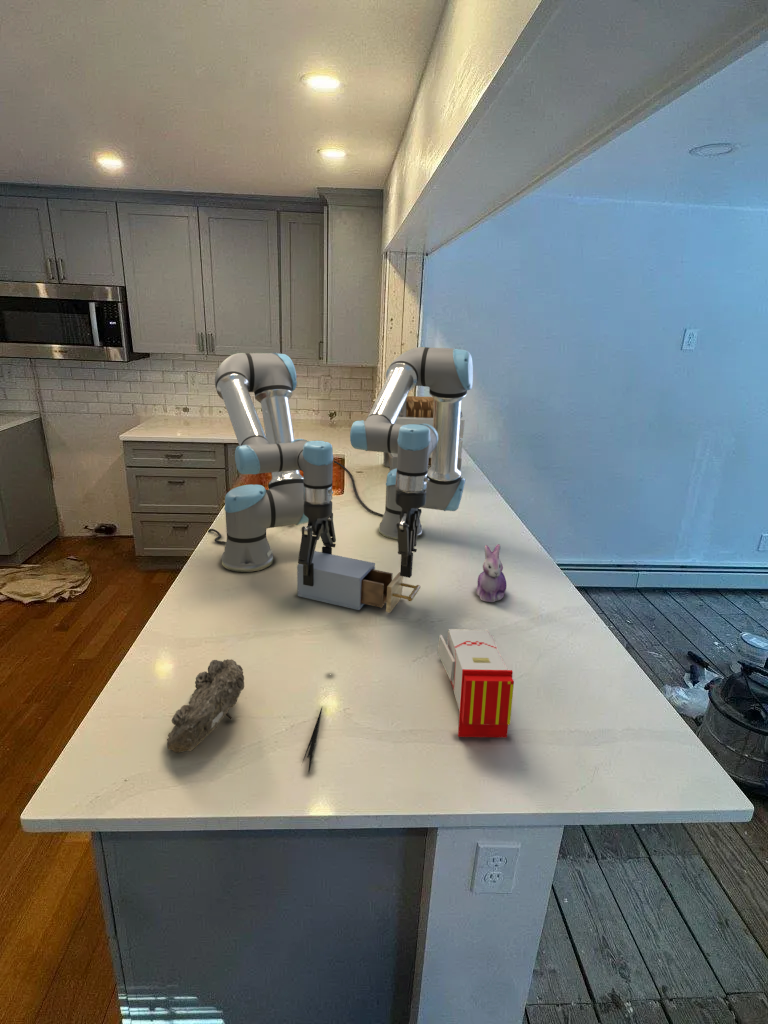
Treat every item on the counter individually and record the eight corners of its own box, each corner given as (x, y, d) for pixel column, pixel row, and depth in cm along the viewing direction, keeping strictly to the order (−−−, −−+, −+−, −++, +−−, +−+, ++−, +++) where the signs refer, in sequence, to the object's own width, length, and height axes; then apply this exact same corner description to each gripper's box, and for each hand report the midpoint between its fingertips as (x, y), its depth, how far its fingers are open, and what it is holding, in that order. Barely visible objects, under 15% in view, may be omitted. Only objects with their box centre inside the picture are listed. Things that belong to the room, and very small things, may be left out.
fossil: (192, 660, 117) (244, 628, 112) (224, 691, 120) (276, 661, 115) (142, 746, 98) (202, 712, 93) (182, 779, 101) (242, 748, 96)
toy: (488, 613, 130) (523, 677, 101) (484, 667, 133) (517, 744, 104) (435, 612, 130) (455, 676, 101) (432, 666, 133) (451, 743, 103)
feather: (331, 679, 122) (336, 673, 122) (307, 777, 96) (313, 769, 95) (324, 675, 122) (329, 669, 121) (298, 772, 95) (304, 764, 95)
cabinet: (373, 593, 158) (375, 562, 154) (359, 610, 148) (360, 578, 145) (315, 580, 163) (315, 550, 160) (297, 596, 154) (297, 565, 151)
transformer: (382, 463, 289) (386, 382, 275) (445, 464, 293) (451, 384, 279) (390, 482, 257) (394, 392, 243) (460, 483, 261) (468, 394, 247)
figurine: (488, 606, 153) (494, 555, 148) (466, 590, 161) (471, 541, 156) (515, 600, 157) (522, 550, 152) (493, 584, 166) (498, 536, 160)
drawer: (420, 601, 152) (422, 576, 150) (409, 617, 144) (411, 591, 142) (344, 584, 160) (345, 561, 157) (330, 599, 151) (330, 574, 149)
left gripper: (310, 516, 137) (310, 597, 145) (348, 490, 158) (347, 563, 165) (283, 511, 140) (284, 591, 147) (324, 486, 160) (324, 558, 168)
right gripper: (417, 499, 131) (411, 589, 140) (433, 484, 143) (427, 568, 151) (387, 494, 134) (383, 583, 142) (405, 479, 145) (400, 563, 153)
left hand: (317, 576), depth 156 cm, fingers closed on cabinet, 10 cm apart
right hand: (405, 575), depth 147 cm, fingers closed
